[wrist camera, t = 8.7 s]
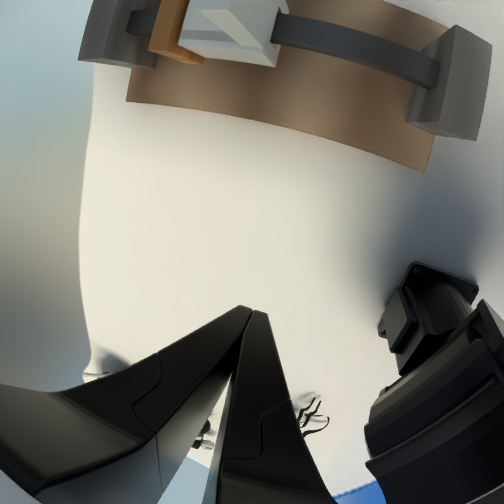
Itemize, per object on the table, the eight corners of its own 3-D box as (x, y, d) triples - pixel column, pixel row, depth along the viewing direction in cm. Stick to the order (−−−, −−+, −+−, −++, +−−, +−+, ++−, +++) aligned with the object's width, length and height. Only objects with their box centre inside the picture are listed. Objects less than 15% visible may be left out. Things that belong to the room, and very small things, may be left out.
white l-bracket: (289, 10, 12) (255, -71, 5) (275, 67, 13) (227, 15, 6) (219, 4, 12) (143, -60, 5) (205, 57, 14) (113, 19, 7)
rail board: (449, 35, 12) (495, 5, 6) (419, 170, 16) (462, 194, 10) (163, -17, 14) (110, -49, 8) (133, 101, 19) (68, 102, 13)
